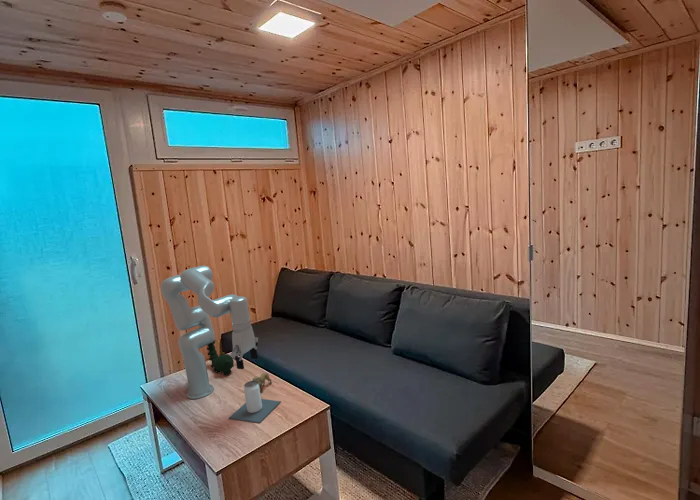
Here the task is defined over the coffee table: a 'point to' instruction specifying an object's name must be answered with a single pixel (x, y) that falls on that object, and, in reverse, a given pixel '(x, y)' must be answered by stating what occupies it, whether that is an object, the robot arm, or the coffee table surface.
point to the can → (252, 397)
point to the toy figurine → (220, 360)
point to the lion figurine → (262, 380)
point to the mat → (258, 416)
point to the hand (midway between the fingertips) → (247, 363)
